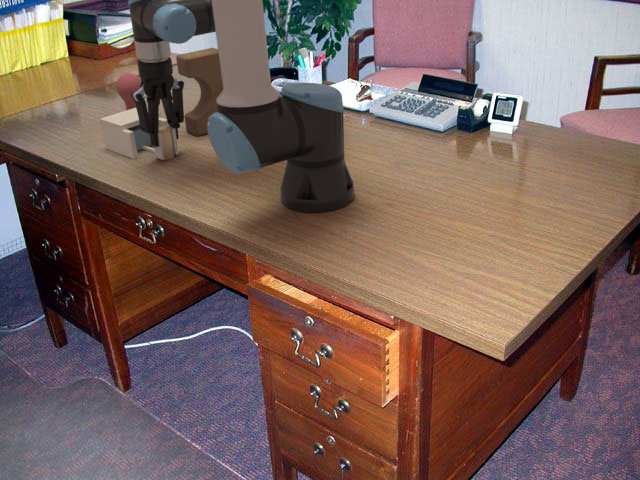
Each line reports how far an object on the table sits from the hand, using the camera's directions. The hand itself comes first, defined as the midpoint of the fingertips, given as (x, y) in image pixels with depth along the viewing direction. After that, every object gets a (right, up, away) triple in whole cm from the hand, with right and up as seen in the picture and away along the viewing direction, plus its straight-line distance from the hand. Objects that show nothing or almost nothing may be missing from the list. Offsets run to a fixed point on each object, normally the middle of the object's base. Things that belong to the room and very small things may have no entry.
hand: (167, 155), depth 169 cm
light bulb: (-15, +14, +29) cm, 36 cm away
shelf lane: (-9, +3, +7) cm, 12 cm away
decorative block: (+8, +9, +16) cm, 20 cm away
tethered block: (-5, +2, +4) cm, 7 cm away
